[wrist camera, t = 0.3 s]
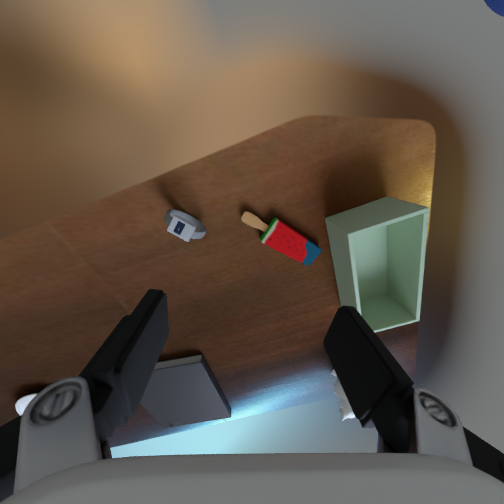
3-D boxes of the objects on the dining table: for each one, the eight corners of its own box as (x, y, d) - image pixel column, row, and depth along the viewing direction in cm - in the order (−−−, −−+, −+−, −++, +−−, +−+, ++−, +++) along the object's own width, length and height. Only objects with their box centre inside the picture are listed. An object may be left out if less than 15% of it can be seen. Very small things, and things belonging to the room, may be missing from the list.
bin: (324, 217, 31) (347, 234, 24) (386, 196, 30) (429, 207, 23) (340, 306, 40) (360, 336, 33) (388, 292, 39) (419, 320, 32)
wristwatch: (211, 222, 30) (205, 232, 26) (203, 235, 31) (197, 247, 27) (176, 201, 29) (163, 209, 24) (169, 215, 30) (155, 225, 25)
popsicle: (250, 203, 28) (324, 248, 32) (249, 201, 29) (320, 245, 33) (235, 228, 30) (307, 267, 34) (236, 225, 31) (305, 263, 35)
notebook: (231, 408, 58) (202, 353, 45) (231, 417, 56) (200, 362, 43) (166, 419, 59) (120, 367, 46) (163, 428, 57) (114, 377, 44)
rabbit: (335, 381, 53) (358, 437, 43) (315, 369, 50) (335, 426, 39) (372, 361, 50) (407, 416, 39) (353, 346, 46) (386, 402, 36)
